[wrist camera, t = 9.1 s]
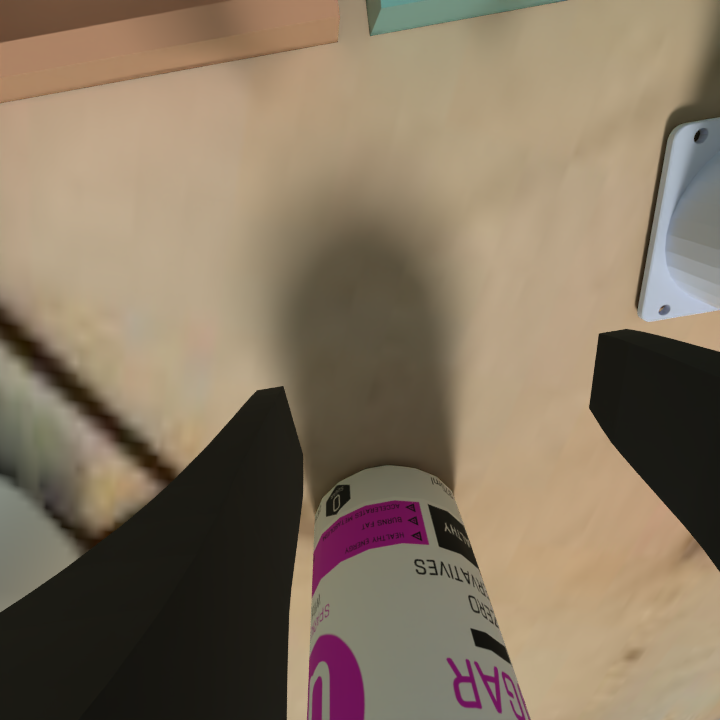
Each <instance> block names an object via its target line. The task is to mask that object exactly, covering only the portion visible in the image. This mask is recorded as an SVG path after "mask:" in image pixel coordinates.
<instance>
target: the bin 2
mask: <svg viewBox="0 0 720 720" xmlns="http://www.w3.org/2000/svg"><path fill="white" fill-rule="evenodd" d="M561 1H566V0H366V5H367V14H368V22H369V31H370V36H373V35H379V34H384V33H390V32H395V31H401V30H406V29H412V28H417V27H423V26H428V25H434V24H439V23H445V22H450V21H456V20H461V19H467V18H472V17H478V16H483V15H489V14H494V13H500V12H505V11H511V10H516V9H522V8H527V7H533V6H539V5H544V4H550V3H555V2H561Z"/></svg>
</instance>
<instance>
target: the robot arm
mask: <svg viewBox="0 0 720 720" xmlns="http://www.w3.org/2000/svg"><path fill="white" fill-rule="evenodd" d="M698 130H700V136H699V138H698V140H697V141H696V142H694V136H695V133H696V132H697V131H698ZM663 305H664V308H663V309H662V310H661V311H659V309H660V308H661V307H662V306H663ZM717 310H720V117H716V118H711V119H705V120H699V121H694V122H688V123H683V124H680V125H678V126H677V127H676V128H674V129H673V130H672V132H671V133H670V135H669V138H668V141H667V146H666V152H665V158H664V163H663V169H662V175H661V180H660V186H659V192H658V197H657V203H656V209H655V214H654V220H653V226H652V231H651V237H650V243H649V248H648V254H647V260H646V265H645V271H644V277H643V282H642V288H641V294H640V299H639V305H638V311H637V312H638V316H639V317H640V318H641V319H643V320H645V321H647V322H651V321H657V320H663V319H669V318H675V317H681V316H687V315H693V314H699V313H705V312H711V311H717ZM589 409H590V410H591V412H592V413H593V415H594V417H595V418H596V420H597V422H598V423H599V425H600V426H601V428H602V429H603V431H604V432H605V434H606V435H607V437H608V438H609V440H610V441H611V443H612V444H613V445H614V446H615V448H616V449H617V450H618V451H619V452H620V454H621V455H622V456H623V457H624V458H625V459H626V460H627V462H628V463H629V464H630V465H631V466H632V467H633V469H634V470H635V471H636V472H637V473H638V474H639V475H640V476H641V478H642V479H643V480H644V481H645V482H646V483H647V484H648V485H649V487H650V488H651V489H652V490H653V491H654V492H655V493H656V495H657V496H658V497H659V498H660V499H661V500H662V501H663V502H664V504H665V505H666V506H667V507H668V508H669V509H670V510H671V511H672V513H673V514H674V515H675V516H676V517H677V518H678V519H679V520H680V522H681V523H682V524H683V525H684V526H685V527H686V528H687V530H688V531H689V532H690V533H691V535H692V536H693V537H694V538H695V539H696V541H697V542H698V543H699V544H700V546H701V547H702V548H703V549H704V551H705V552H706V553H707V555H708V556H709V558H710V559H711V560H712V562H713V563H714V565H715V566H716V567H717V569H718V570H719V571H720V352H718V351H714V350H711V349H707V348H703V347H700V346H696V345H692V344H689V343H685V342H681V341H678V340H674V339H670V338H666V337H662V336H658V335H654V334H650V333H646V332H641V331H635V330H629V329H624V330H618V331H612V332H606V333H600V334H599V337H598V345H597V352H596V360H595V367H594V375H593V383H592V390H591V398H590V405H589ZM302 499H303V453H302V449H301V446H300V442H299V439H298V436H297V432H296V429H295V425H294V422H293V418H292V415H291V411H290V408H289V404H288V401H287V397H286V394H285V390H284V387H283V386H281V387H275V388H269V389H263V390H257V391H256V392H255V393H254V394H253V395H252V396H251V397H250V398H249V400H248V401H247V402H246V403H245V404H244V405H243V406H242V407H241V409H240V410H239V411H238V412H237V413H236V414H235V416H234V417H233V418H232V419H231V420H230V421H229V422H228V424H227V425H226V426H225V427H224V428H223V429H222V430H221V431H220V432H219V434H218V435H217V436H216V437H215V438H214V439H213V440H212V441H211V443H210V444H209V445H208V446H207V447H206V448H205V449H204V450H203V451H202V452H201V453H200V454H199V455H198V456H197V457H196V458H195V459H194V460H193V461H192V462H191V463H190V464H189V465H188V466H187V467H186V468H185V469H184V470H183V471H182V472H181V473H180V474H179V475H178V476H177V477H176V478H175V479H174V480H173V481H172V482H171V483H170V484H169V485H168V486H167V487H166V488H165V489H164V490H163V491H161V492H160V493H159V494H158V495H157V496H156V497H155V498H154V499H153V500H151V501H150V502H149V503H148V504H147V505H146V506H144V507H143V508H142V509H141V510H140V511H139V512H137V513H136V514H135V515H134V516H133V517H132V518H130V519H129V520H128V521H127V522H125V523H124V524H123V525H122V526H121V527H119V528H118V529H117V530H115V531H114V532H113V533H111V534H110V535H109V536H108V537H106V538H105V539H104V540H102V541H101V542H100V543H98V544H97V545H96V546H94V547H93V548H92V549H90V550H89V551H88V552H86V553H85V554H84V555H82V556H81V557H80V558H78V559H77V560H76V561H74V562H73V563H72V564H71V565H69V566H68V567H67V568H65V569H64V570H62V571H61V572H60V573H58V574H57V575H55V576H54V577H52V578H51V579H49V580H48V581H47V582H45V583H44V584H42V585H41V586H40V587H38V588H37V589H35V590H34V591H32V592H31V593H29V594H28V595H26V596H25V597H23V598H22V599H20V600H19V601H17V602H16V603H14V604H13V605H11V606H10V607H8V608H6V609H5V610H4V611H2V612H0V720H287V666H288V634H289V609H290V597H291V587H292V579H293V571H294V563H295V556H296V548H297V540H298V532H299V524H300V516H301V508H302Z"/></svg>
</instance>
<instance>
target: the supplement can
mask: <svg viewBox="0 0 720 720" xmlns="http://www.w3.org/2000/svg"><path fill="white" fill-rule="evenodd" d="M307 720H531V719H530V716H529V713H528V710H527V707H526V704H525V701H524V698H523V696H522V693H521V690H520V687H519V684H518V681H517V678H516V675H515V672H514V669H513V666H512V664H511V661H510V658H509V655H508V652H507V649H506V646H505V643H504V640H503V637H502V634H501V631H500V629H499V626H498V623H497V620H496V617H495V614H494V611H493V608H492V605H491V602H490V599H489V597H488V594H487V591H486V588H485V585H484V582H483V579H482V576H481V573H480V570H479V567H478V565H477V562H476V559H475V556H474V553H473V550H472V547H471V544H470V541H469V538H468V535H467V532H466V530H465V527H464V524H463V521H462V518H461V515H460V512H459V509H458V506H457V504H456V501H455V498H454V496H453V493H452V491H451V490H450V489H449V488H448V487H447V486H446V485H445V484H444V483H443V482H442V481H441V480H440V479H439V478H438V477H436V476H434V475H431V474H429V473H426V472H424V471H421V470H419V469H416V468H410V467H404V466H392V465H384V466H379V467H374V468H368V469H364V470H362V471H360V472H358V473H356V474H354V475H352V476H350V477H348V478H346V479H344V480H342V481H340V482H338V483H337V484H336V485H335V486H334V487H333V488H332V489H331V490H330V491H329V492H328V493H327V494H326V495H325V496H324V497H323V498H322V500H321V503H320V505H319V507H318V510H317V512H316V514H315V529H314V554H313V580H312V606H311V632H310V658H309V684H308V709H307Z"/></svg>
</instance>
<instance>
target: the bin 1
mask: <svg viewBox="0 0 720 720" xmlns="http://www.w3.org/2000/svg"><path fill="white" fill-rule="evenodd" d="M339 20H340V14H339V7H338V0H0V103H4V102H9V101H15V100H20V99H26V98H31V97H37V96H42V95H48V94H54V93H59V92H65V91H70V90H76V89H81V88H87V87H92V86H98V85H103V84H109V83H114V82H120V81H125V80H131V79H136V78H142V77H147V76H153V75H158V74H164V73H169V72H175V71H180V70H186V69H191V68H197V67H202V66H208V65H213V64H219V63H224V62H230V61H235V60H241V59H246V58H252V57H257V56H263V55H268V54H274V53H279V52H285V51H290V50H296V49H302V48H307V47H313V46H318V45H324V44H329V43H335V42H338V32H339Z"/></svg>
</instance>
